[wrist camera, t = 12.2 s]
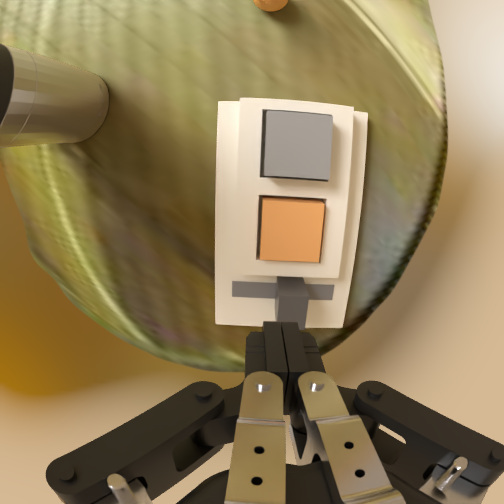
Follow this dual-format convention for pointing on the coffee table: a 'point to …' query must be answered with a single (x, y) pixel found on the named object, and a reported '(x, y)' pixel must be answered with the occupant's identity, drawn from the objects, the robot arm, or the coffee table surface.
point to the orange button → (291, 228)
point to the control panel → (257, 185)
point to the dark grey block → (291, 300)
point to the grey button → (298, 145)
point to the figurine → (270, 4)
